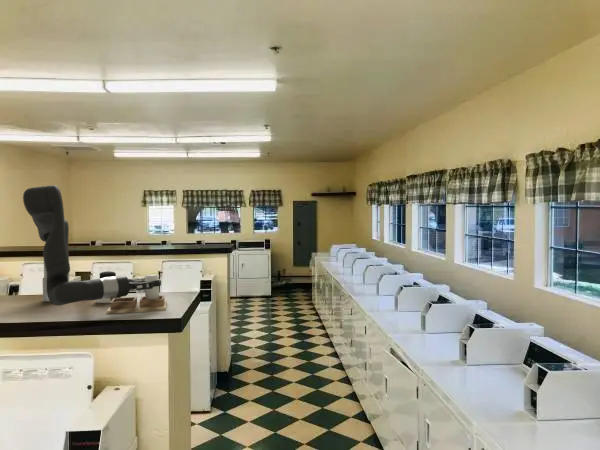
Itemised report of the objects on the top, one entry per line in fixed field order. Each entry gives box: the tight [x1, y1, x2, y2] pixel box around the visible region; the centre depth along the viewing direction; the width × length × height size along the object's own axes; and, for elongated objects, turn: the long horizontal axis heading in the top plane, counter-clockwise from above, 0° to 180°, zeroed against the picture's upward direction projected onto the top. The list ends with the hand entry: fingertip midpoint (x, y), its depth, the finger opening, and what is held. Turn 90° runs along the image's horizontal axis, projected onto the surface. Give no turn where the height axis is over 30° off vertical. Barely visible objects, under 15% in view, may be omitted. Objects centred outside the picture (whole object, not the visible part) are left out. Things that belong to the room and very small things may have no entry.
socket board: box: [106, 294, 168, 315], centre depth 171 cm, size 20×14×4 cm
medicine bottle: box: [94, 270, 122, 304], centre depth 185 cm, size 7×7×12 cm
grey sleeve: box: [144, 273, 160, 300], centre depth 172 cm, size 5×5×11 cm
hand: (154, 281), depth 173 cm, fingers open, 8 cm apart
